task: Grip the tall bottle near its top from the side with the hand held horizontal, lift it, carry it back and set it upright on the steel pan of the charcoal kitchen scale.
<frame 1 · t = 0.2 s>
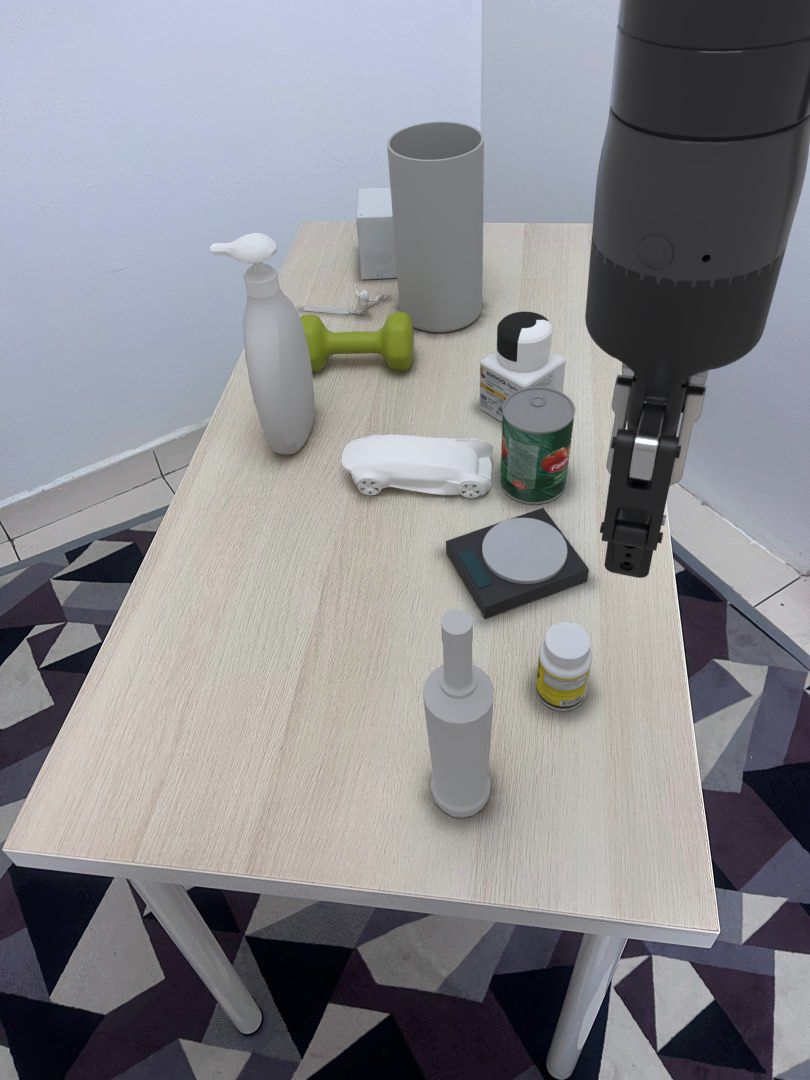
hand: (638, 513, 43), 35 cm above the table, tool pointing down, fingers open, 8 cm apart
toy car: (418, 476, 97), on the table
cosmetics box: (381, 264, 132), on the table
scale: (515, 566, 86), on the table
canned tomato: (532, 482, 95), on the table
dumbbell: (357, 365, 113), on the table
soap bottle: (289, 433, 104), on the table
bottle: (461, 792, 70), on the table
cylinder vase: (441, 312, 121), on the table
supplement bottle: (560, 691, 76), on the table
container: (520, 409, 105), on the table
action figure: (344, 308, 124), on the table
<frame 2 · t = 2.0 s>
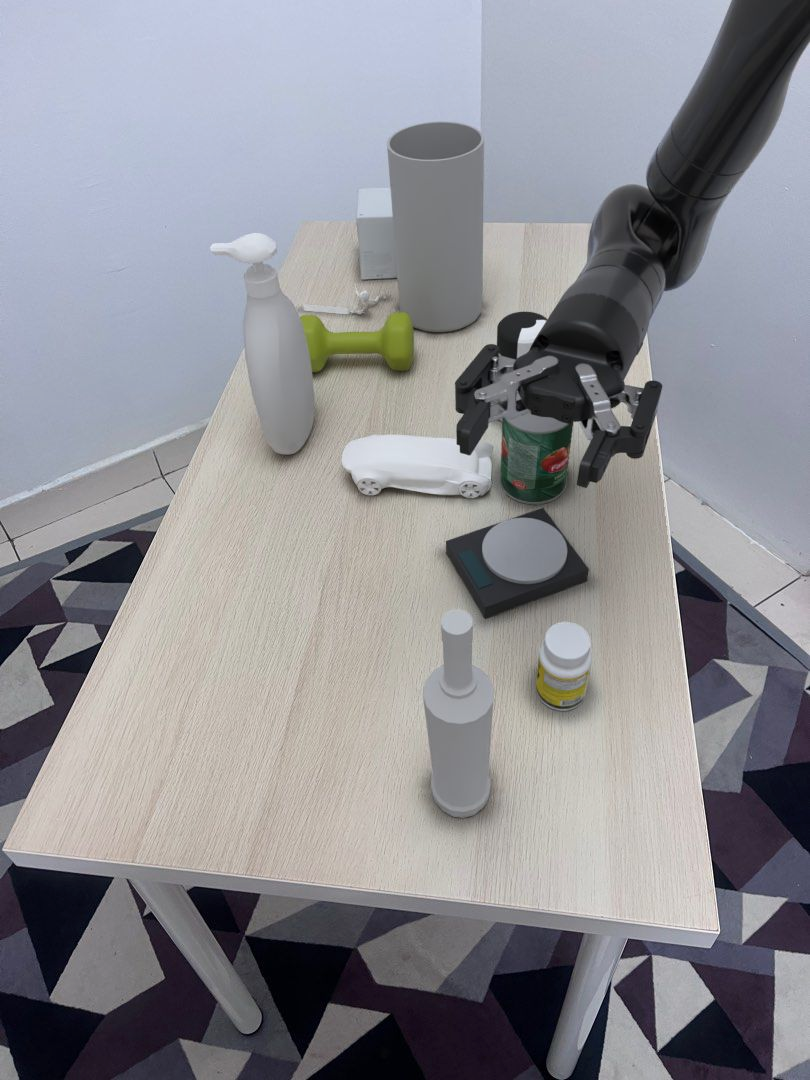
hand: (522, 461, 54), 30 cm above the table, tool horizontal, fingers open, 8 cm apart
nothing on the table moved.
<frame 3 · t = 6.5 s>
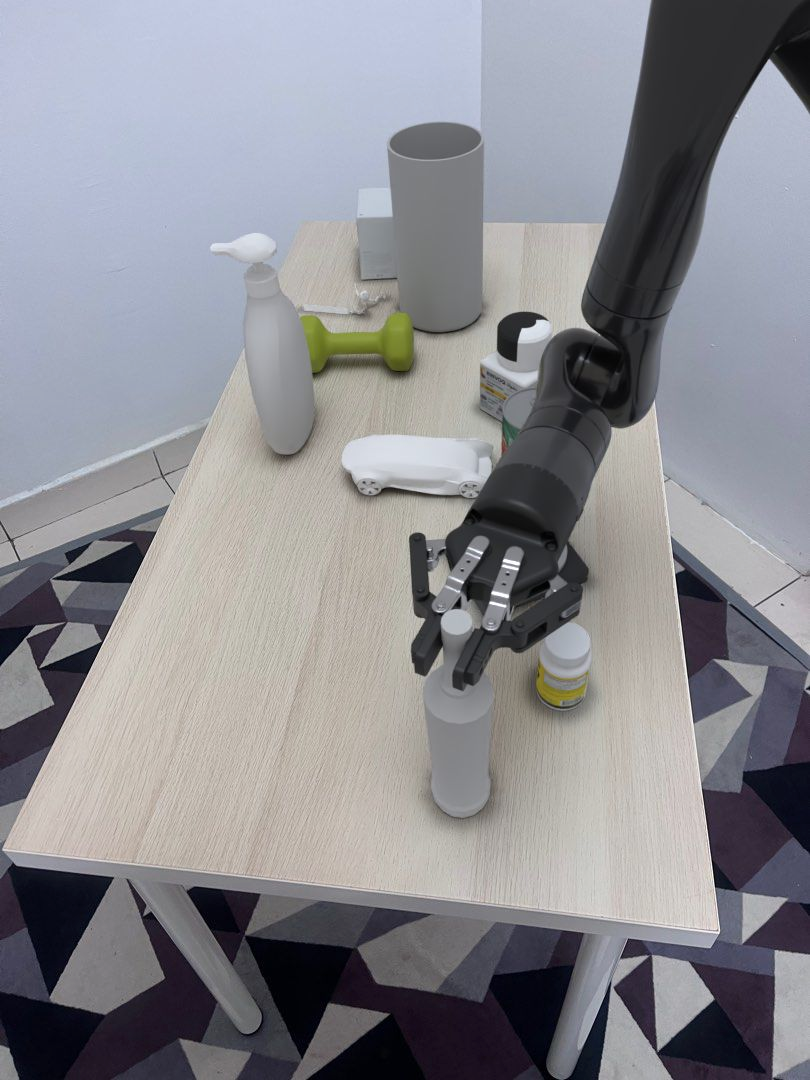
hand: (438, 675, 51), 23 cm above the table, tool horizontal, fingers closed on bottle, 2 cm apart
bottle: (461, 792, 70), on the table, touching gripper
everything else where it was.
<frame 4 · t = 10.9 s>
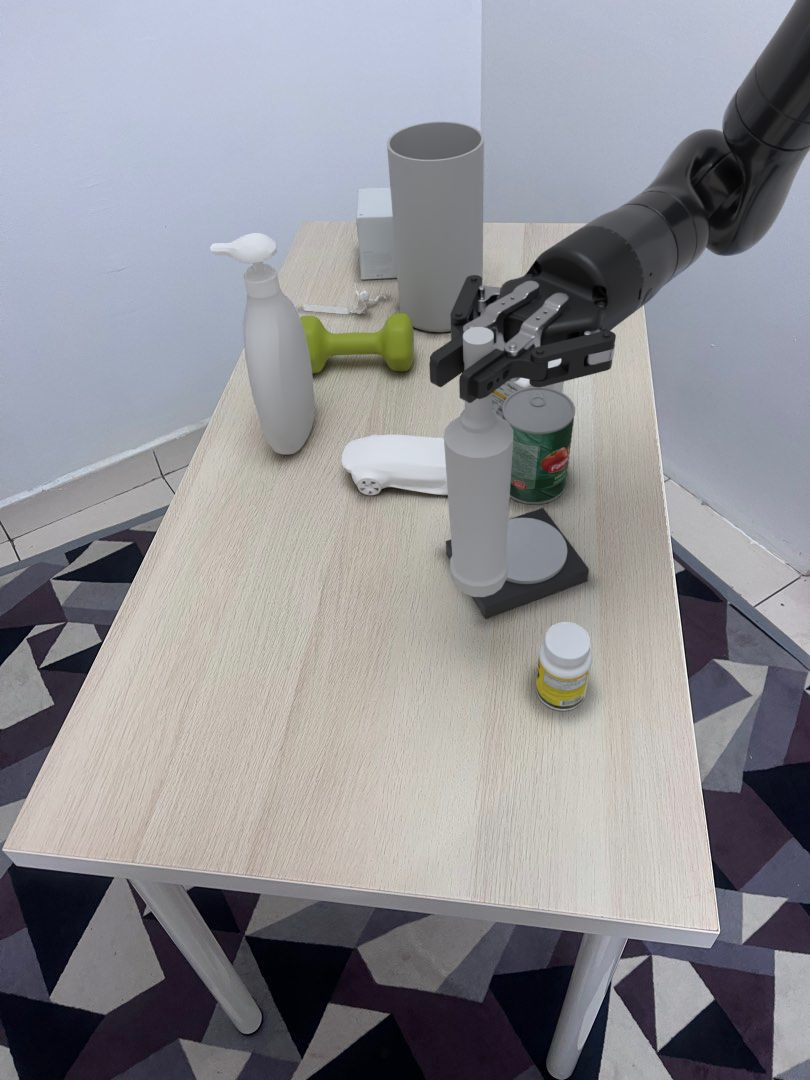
hand: (449, 381, 53), 34 cm above the table, tool horizontal, fingers closed on bottle
bottle: (479, 577, 71), point 11 cm above the table, touching gripper
everything else where it was.
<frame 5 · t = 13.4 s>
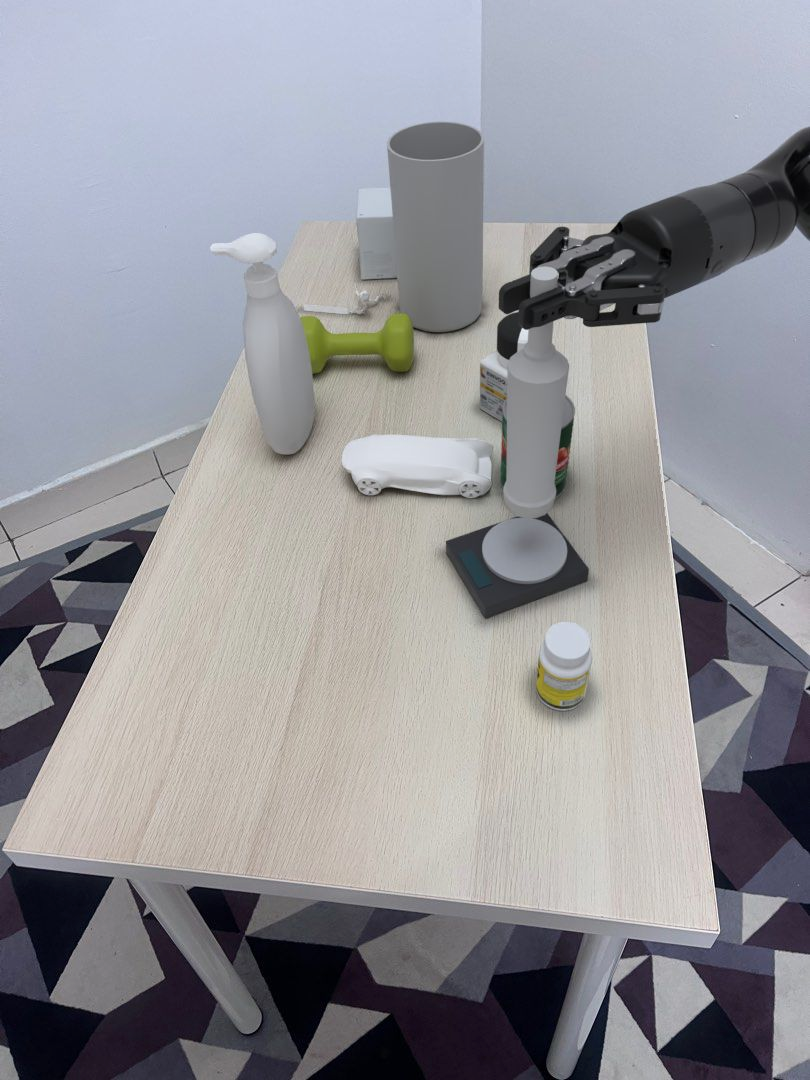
hand: (512, 309, 62), 32 cm above the table, tool horizontal, fingers closed on bottle
bottle: (528, 502, 80), point 9 cm above the table, touching gripper
everything else where it was.
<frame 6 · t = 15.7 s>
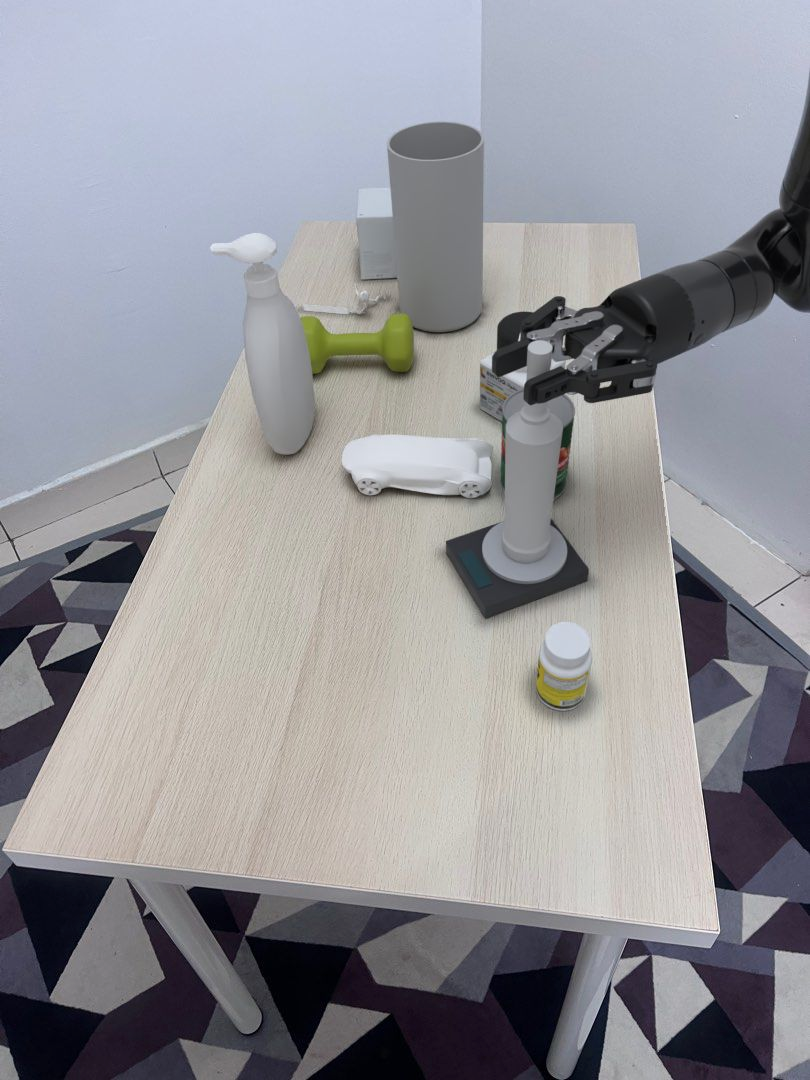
hand: (510, 379, 67), 26 cm above the table, tool horizontal, fingers open, 4 cm apart
bottle: (525, 547, 85), point 2 cm above the table, touching scale
everything else where it was.
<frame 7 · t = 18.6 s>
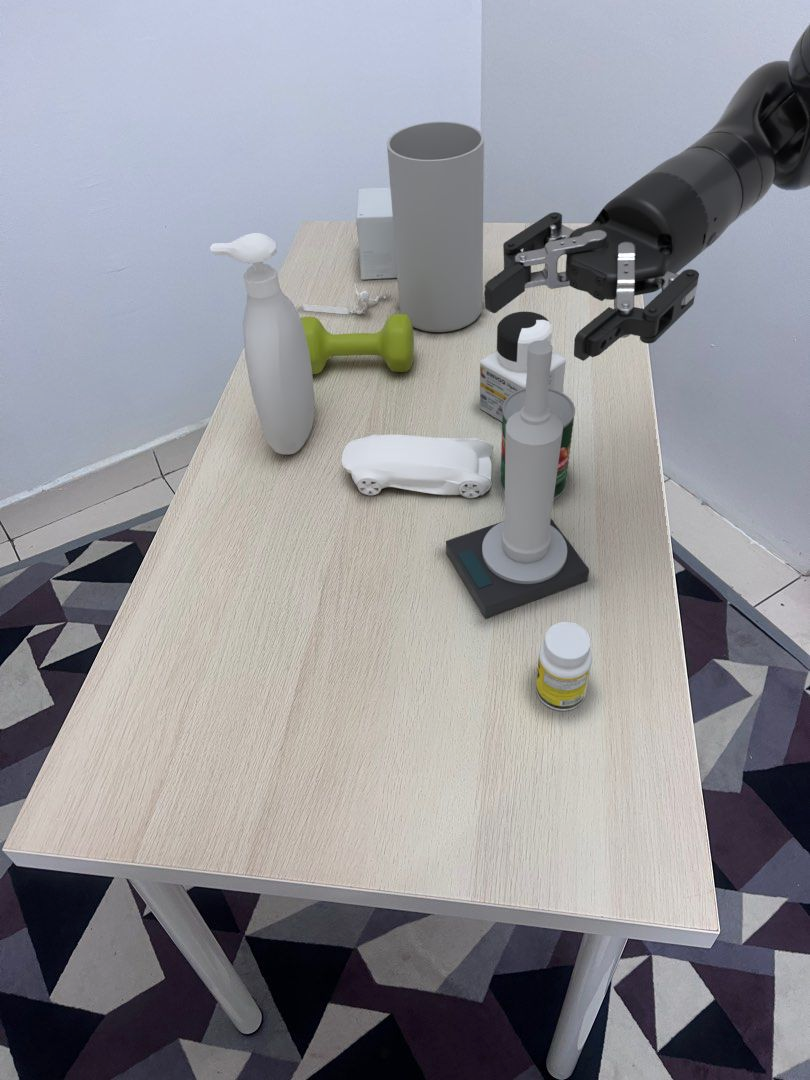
hand: (531, 324, 57), 34 cm above the table, tool horizontal, fingers open, 8 cm apart
nothing on the table moved.
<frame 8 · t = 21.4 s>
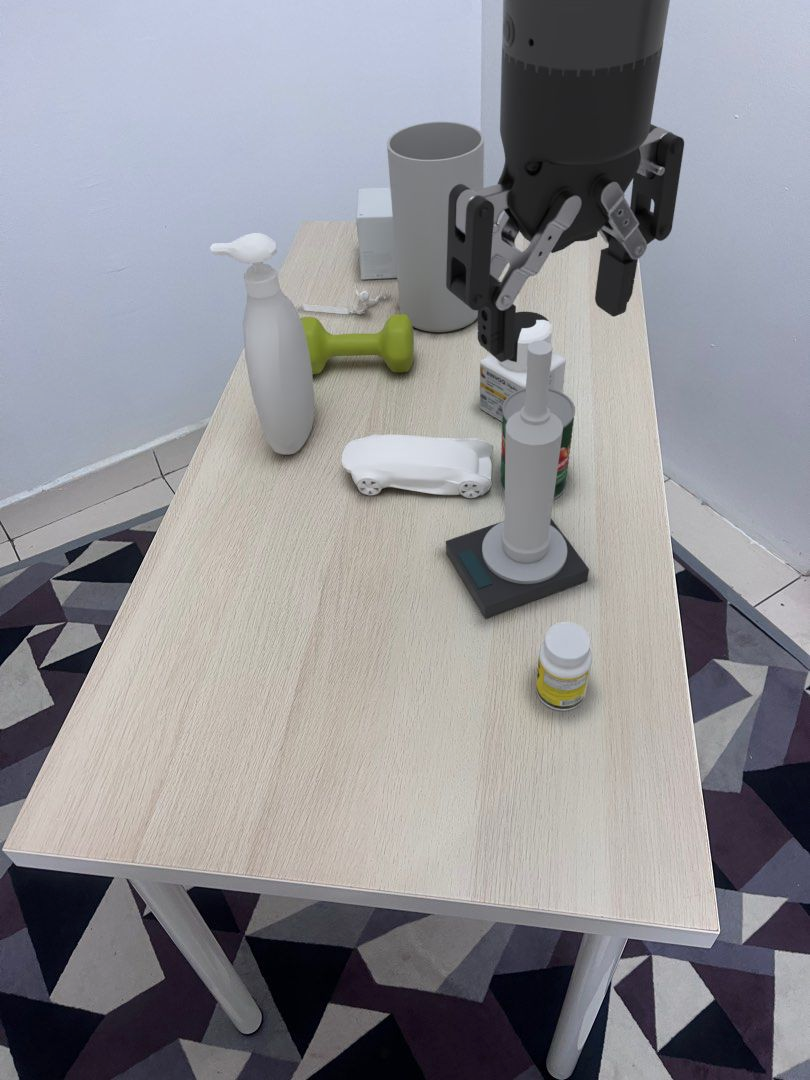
hand: (555, 331, 49), 38 cm above the table, tool pointing down, fingers open, 8 cm apart
nothing on the table moved.
at the end: bottle 0.2 cm from the target spot on the scale, point 2.4 cm above the scale's base; bottle tilted 0°; the gripper is holding nothing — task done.
